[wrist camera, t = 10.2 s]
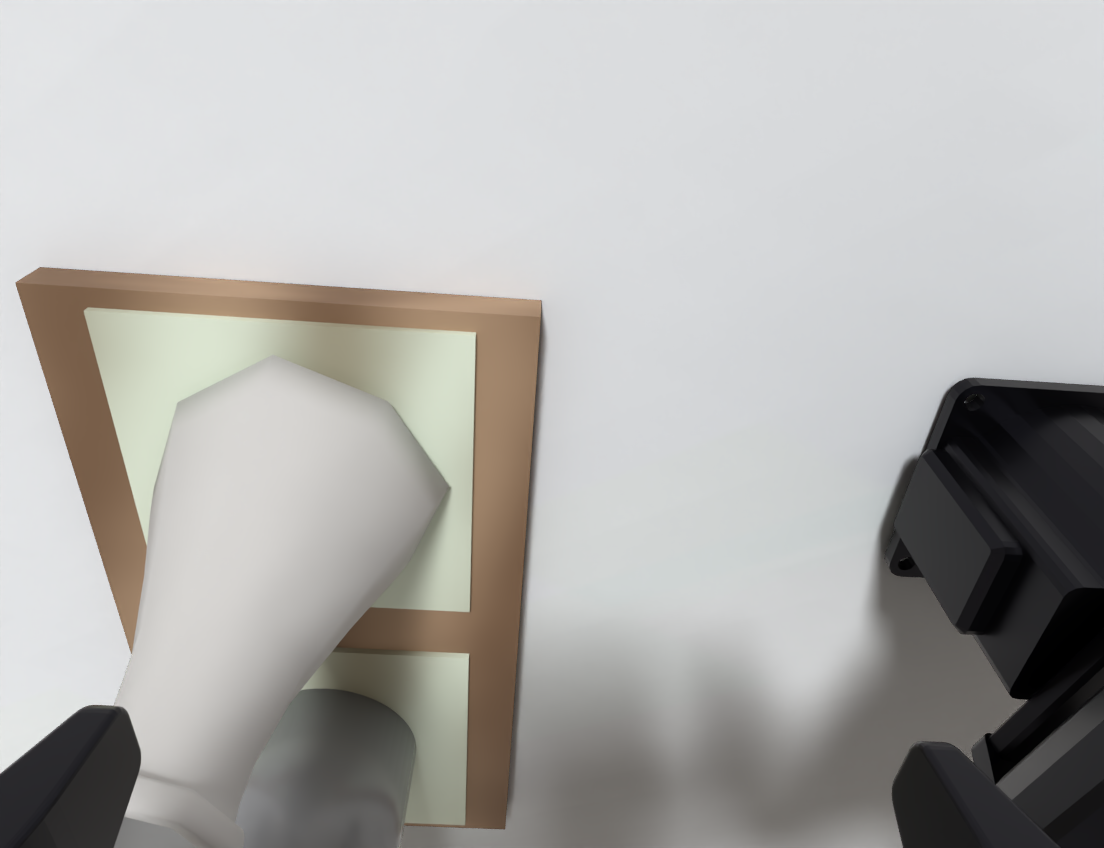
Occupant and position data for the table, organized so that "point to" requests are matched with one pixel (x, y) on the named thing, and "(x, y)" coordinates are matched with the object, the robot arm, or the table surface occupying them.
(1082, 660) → the robot arm
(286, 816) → the grey cylinder
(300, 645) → the flask
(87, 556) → the table surface
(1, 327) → the table surface
